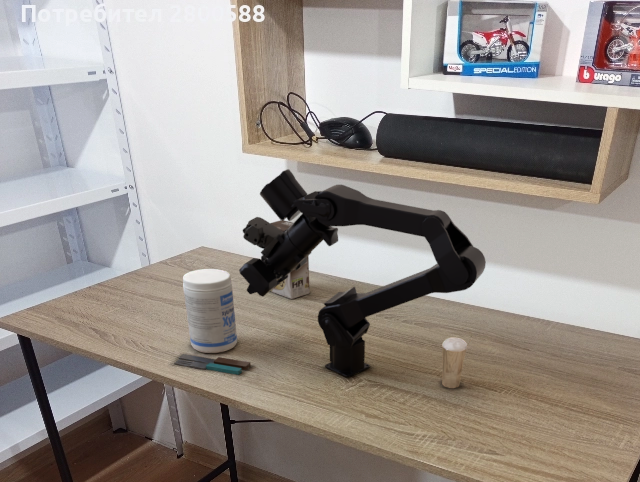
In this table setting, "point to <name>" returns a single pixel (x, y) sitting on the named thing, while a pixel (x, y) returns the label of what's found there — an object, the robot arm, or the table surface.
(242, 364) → the knife
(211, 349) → the supplement tub
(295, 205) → the robot arm
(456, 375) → the milkshake
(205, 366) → the fork
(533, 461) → the table surface
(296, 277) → the coffee box
